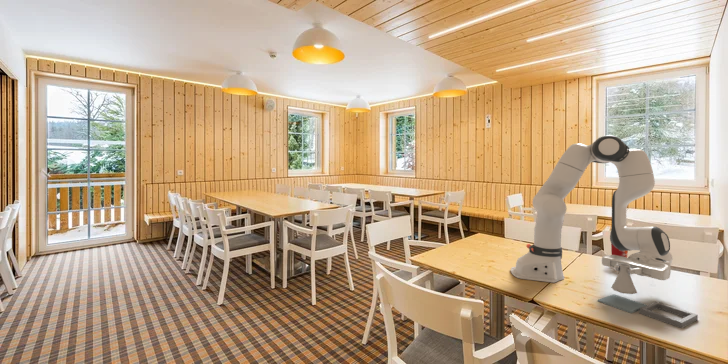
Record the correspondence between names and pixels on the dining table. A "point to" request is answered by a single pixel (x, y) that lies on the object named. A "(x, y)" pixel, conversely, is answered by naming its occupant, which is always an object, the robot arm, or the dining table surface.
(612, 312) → the dining table surface
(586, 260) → the dining table surface
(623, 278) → the flask
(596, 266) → the dining table surface
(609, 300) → the mat
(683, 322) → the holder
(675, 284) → the dining table surface
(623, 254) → the paper cup
